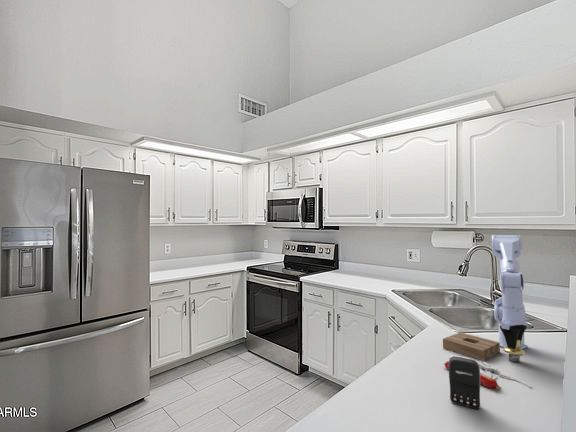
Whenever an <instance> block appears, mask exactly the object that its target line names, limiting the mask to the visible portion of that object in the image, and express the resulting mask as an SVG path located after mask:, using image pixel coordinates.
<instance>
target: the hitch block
mask: <svg viewBox="0 0 576 432" xmlns="http://www.w3.org/2000/svg"><path fill="white" fill-rule="evenodd" d="M442 348H443V349H444V350H448V351H451V352H453V353H457V354H460V355H462V356H463V355H464V356H465V357H466V356H467V357H469V358H472V359H477V360H480V361H482V362H486V360H488V359H490V358H492V357H494V356H496V355H498V354H499V353H501V347H500V342H499V341H496V340H492V339H488V338H484V337H480V336H478V335H477V336H476V335H473V334H469V333H465V332H461V331H460V332H458V333H454V334H451V335H449V336H446V337H444V338H442Z"/></svg>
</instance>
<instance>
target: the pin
mask: <svg viewBox="0 0 576 432" xmlns="http://www.w3.org/2000/svg"><path fill="white" fill-rule="evenodd" d="M502 349H503V352H505V353H507V354H508V361H510V362H513V363H516V364H519V363H520V362H521V359H520V358H521V356H525V355H526V351H525V350H524V349H521V348H520V340H519V339H517V345H516V349H512V348H508V346H505V347H502Z"/></svg>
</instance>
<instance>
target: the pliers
mask: <svg viewBox="0 0 576 432" xmlns="http://www.w3.org/2000/svg"><path fill="white" fill-rule="evenodd" d="M477 362H478V361H477ZM478 364H479V367H480V370H484V372H485V375H486V376H488V377H491V378H492V379H494V380H497V376H498V377H499V378H502V379H506V380H510V381H514V382H518V383H519V384H521V385H523V386H525V387H527V388H529V389H532V386H531V385H530V384H528V383H527V382H525V381H523V380H521V379H519V378H516V377H515V376H512V375H510V374H509V375H508V374H506V373H502V372H501V371H500V370H498V369H497V368H496V367H494V366H492V365H491V364H489V363H487V362H486V361H482V362H478ZM493 373H494V374H495V375H494V377H492V376H493ZM498 386H499V387H498ZM498 386H497V387H496V388H498V389H502V386H500V385H499V384H498Z"/></svg>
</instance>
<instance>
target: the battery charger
mask: <svg viewBox="0 0 576 432" xmlns="http://www.w3.org/2000/svg"><path fill="white" fill-rule="evenodd" d="M448 361H449V369H448V379H449V380H448V381H449V400H450V402H451V403H453V404H455V405H458V406H462V407H466V408H470V409H472V410H473V409H474V410H479V409H480V408H481V384H480V373H481V369H480V367H479V364H478V361H477V360H475V358H472V357H466V356H461V355H451V356H450V357H449V360H448Z"/></svg>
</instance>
